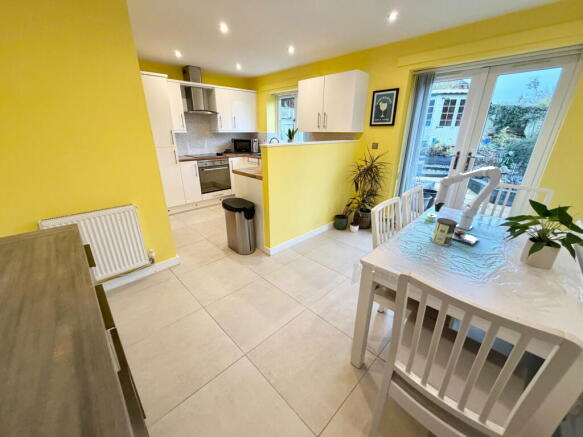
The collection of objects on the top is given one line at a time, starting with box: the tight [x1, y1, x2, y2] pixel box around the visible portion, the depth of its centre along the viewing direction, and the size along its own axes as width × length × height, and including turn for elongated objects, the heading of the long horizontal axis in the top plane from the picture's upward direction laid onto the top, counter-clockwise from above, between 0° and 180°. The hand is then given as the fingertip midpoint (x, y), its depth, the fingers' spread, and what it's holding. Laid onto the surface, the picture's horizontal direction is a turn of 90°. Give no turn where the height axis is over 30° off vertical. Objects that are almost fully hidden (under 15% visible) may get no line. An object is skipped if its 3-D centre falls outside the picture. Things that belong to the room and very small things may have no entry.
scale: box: [451, 229, 479, 247], centre depth 145 cm, size 13×13×3 cm
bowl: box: [426, 213, 437, 223], centre depth 173 cm, size 5×5×4 cm
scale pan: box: [461, 234, 476, 241], centre depth 141 cm, size 8×8×1 cm
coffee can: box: [431, 217, 458, 246], centre depth 139 cm, size 10×10×14 cm
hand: (436, 211), depth 167 cm, fingers closed
